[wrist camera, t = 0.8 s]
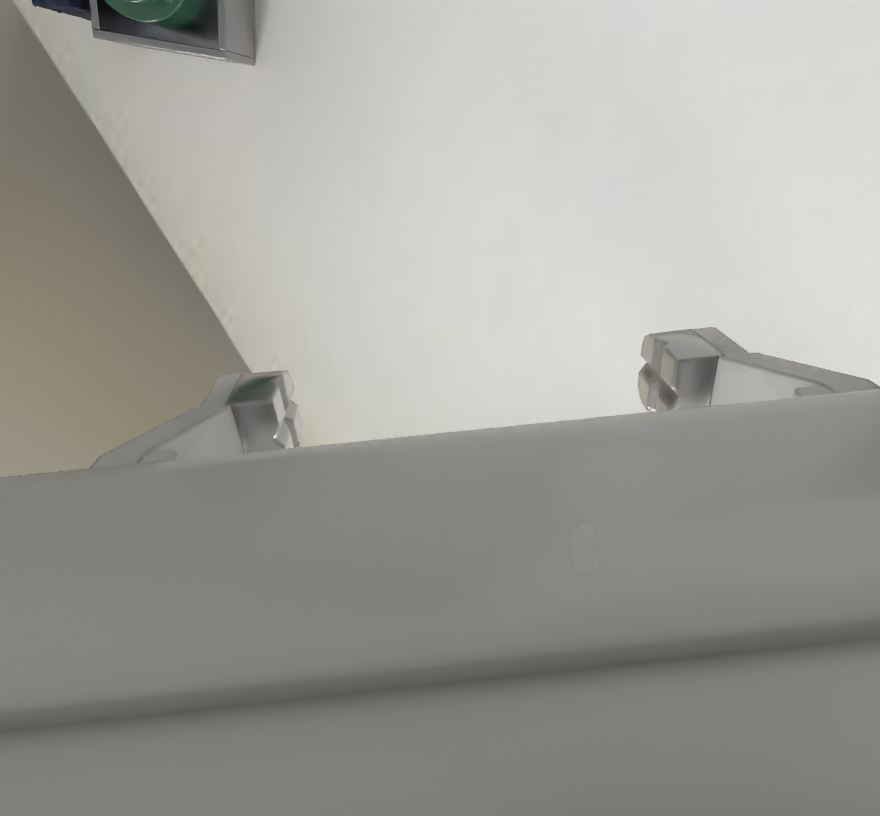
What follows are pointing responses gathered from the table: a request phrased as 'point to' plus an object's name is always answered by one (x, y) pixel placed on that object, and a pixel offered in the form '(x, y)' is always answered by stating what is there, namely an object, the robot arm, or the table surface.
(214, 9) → the bottle
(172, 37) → the bin
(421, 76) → the table surface
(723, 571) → the robot arm
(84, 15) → the vhs cassette tape
